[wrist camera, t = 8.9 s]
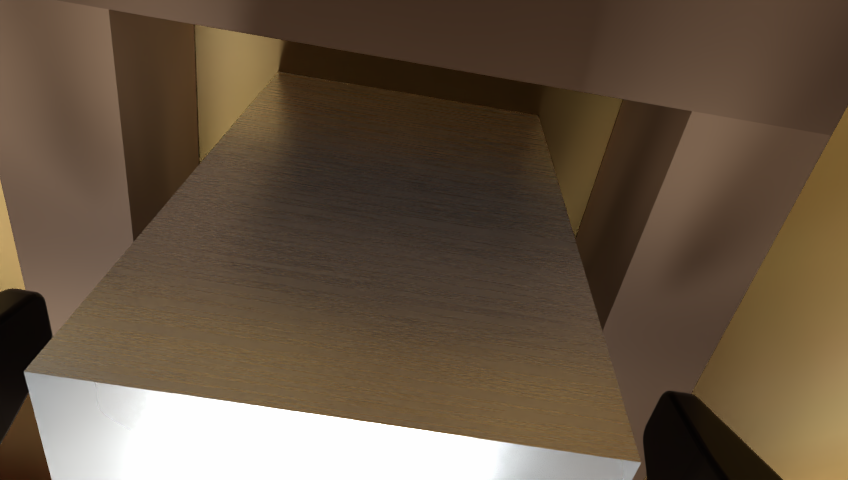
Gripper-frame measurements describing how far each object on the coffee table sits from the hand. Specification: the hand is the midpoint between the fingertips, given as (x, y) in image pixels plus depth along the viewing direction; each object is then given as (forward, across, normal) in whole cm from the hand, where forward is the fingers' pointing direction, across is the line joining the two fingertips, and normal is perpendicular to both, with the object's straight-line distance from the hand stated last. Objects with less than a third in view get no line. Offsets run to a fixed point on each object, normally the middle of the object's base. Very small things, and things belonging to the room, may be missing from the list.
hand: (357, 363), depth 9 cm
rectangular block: (+5, 0, 0) cm, 5 cm away
